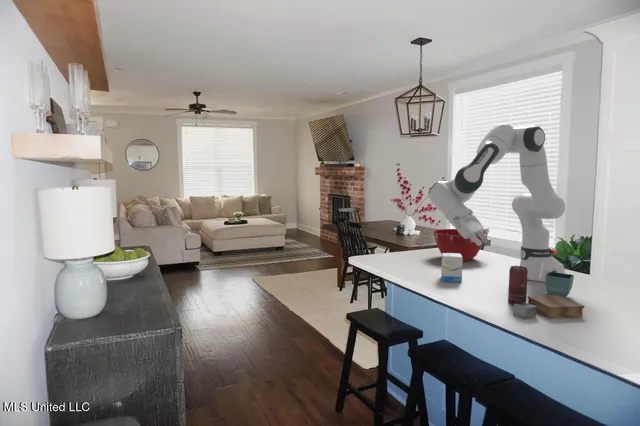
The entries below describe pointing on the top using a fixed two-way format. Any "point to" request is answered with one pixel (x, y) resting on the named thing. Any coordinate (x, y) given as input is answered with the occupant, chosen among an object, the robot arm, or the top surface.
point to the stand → (556, 306)
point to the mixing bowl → (456, 243)
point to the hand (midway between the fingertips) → (483, 243)
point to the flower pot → (558, 283)
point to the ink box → (451, 267)
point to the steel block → (524, 310)
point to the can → (517, 284)
